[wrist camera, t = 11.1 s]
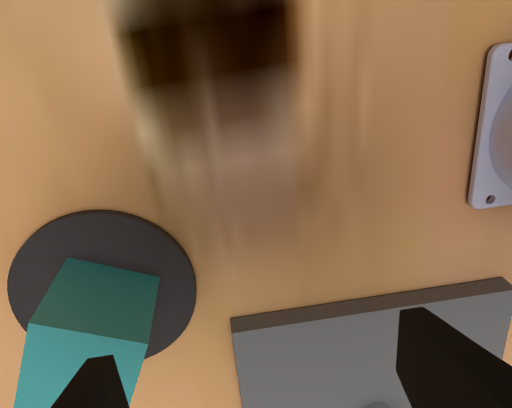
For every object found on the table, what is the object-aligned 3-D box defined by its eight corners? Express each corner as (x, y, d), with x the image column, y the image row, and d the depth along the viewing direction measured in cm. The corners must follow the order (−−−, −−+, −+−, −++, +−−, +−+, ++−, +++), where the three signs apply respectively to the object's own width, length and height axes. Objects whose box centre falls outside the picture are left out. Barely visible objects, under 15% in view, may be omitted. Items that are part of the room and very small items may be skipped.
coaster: (180, 198, 19) (180, 203, 19) (207, 343, 23) (207, 351, 22) (-15, 223, 19) (-22, 229, 18) (44, 368, 22) (40, 377, 22)
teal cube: (159, 277, 20) (148, 344, 16) (139, 344, 22) (124, 422, 17) (67, 257, 19) (28, 323, 15) (52, 329, 21) (13, 408, 16)
